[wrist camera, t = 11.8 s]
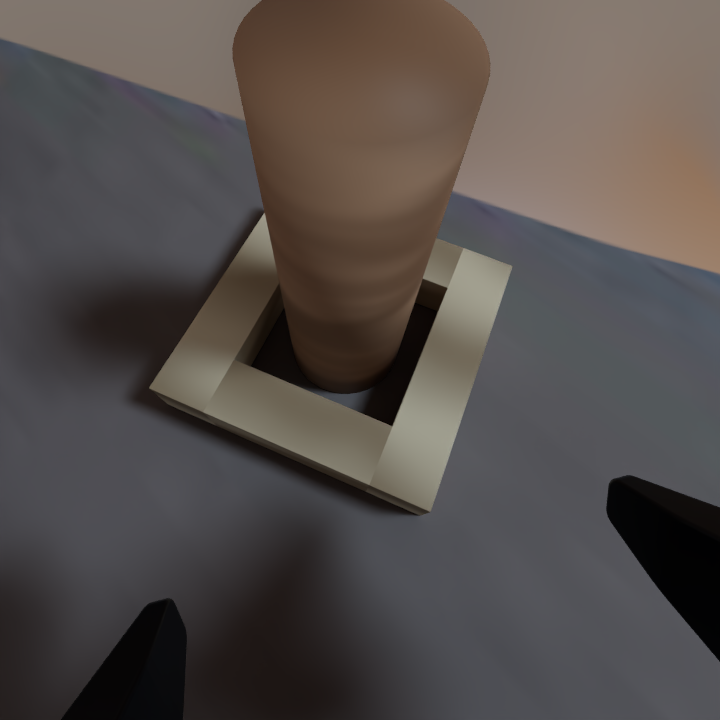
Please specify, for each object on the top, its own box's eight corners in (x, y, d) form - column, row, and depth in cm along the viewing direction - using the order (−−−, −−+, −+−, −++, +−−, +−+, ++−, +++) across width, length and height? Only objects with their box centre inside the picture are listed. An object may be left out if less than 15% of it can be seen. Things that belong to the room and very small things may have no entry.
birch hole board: (419, 515, 17) (430, 511, 15) (168, 404, 18) (148, 388, 16) (496, 290, 21) (512, 266, 19) (288, 212, 22) (284, 182, 20)
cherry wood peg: (339, 415, 18) (349, 188, 7) (272, 338, 19) (180, 31, 8) (418, 350, 19) (542, 67, 8) (350, 282, 21) (372, -50, 9)
